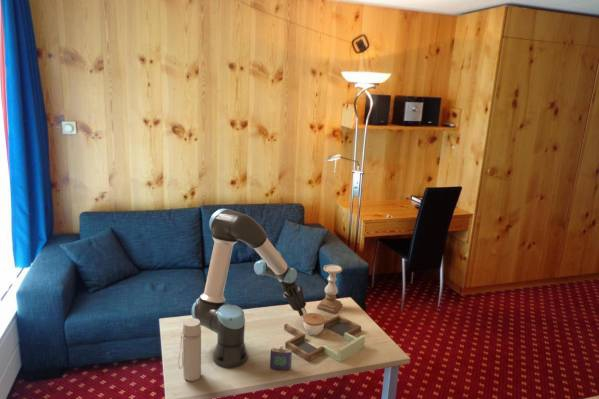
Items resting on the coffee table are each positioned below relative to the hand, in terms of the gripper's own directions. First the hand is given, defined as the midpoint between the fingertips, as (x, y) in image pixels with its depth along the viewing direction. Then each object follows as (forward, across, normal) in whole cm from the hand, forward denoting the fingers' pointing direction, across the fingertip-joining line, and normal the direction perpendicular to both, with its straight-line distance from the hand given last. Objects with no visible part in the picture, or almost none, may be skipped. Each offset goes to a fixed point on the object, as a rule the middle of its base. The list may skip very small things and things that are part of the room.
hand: (306, 320), depth 228 cm
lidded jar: (+7, +2, +2) cm, 7 cm away
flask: (+14, +34, +9) cm, 38 cm away
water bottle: (-1, +66, -6) cm, 66 cm away
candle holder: (-1, -25, -6) cm, 25 cm away
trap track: (+11, +2, +7) cm, 14 cm away
